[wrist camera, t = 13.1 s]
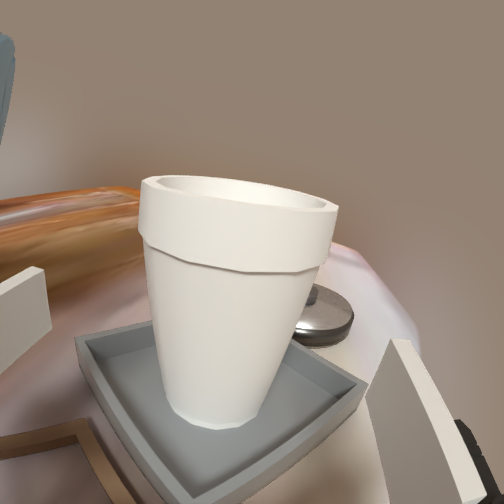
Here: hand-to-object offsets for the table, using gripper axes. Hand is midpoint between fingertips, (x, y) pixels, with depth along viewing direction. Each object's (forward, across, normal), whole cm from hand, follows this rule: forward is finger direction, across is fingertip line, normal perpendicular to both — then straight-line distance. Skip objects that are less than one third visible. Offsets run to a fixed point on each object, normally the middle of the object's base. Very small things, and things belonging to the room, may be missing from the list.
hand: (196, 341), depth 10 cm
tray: (+6, 0, -9) cm, 11 cm away
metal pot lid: (+20, +6, -9) cm, 22 cm away
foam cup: (+6, 0, -9) cm, 11 cm away
